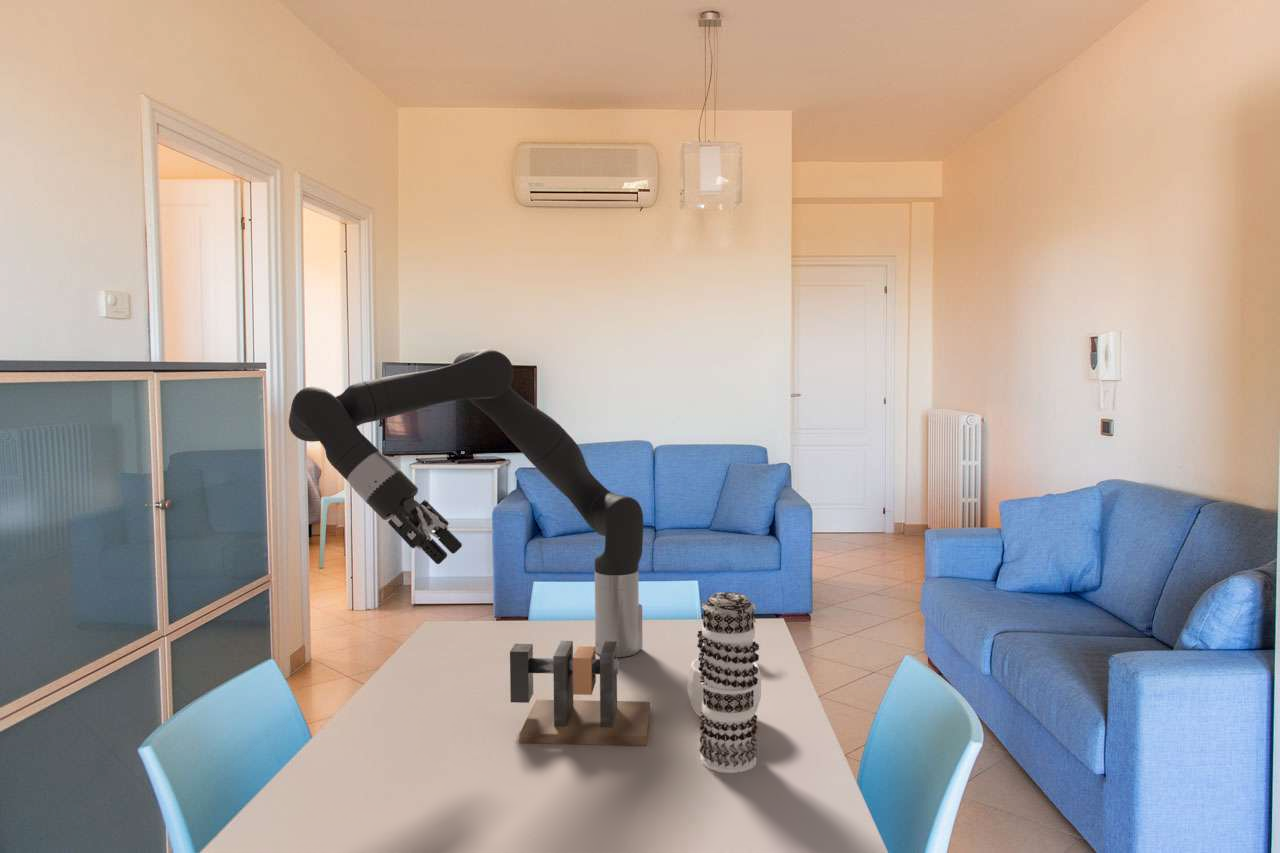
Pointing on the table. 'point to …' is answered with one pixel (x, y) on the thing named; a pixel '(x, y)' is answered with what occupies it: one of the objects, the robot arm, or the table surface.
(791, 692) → the table surface
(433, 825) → the table surface
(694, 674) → the cup
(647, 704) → the rig
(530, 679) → the shaft
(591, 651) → the spacer
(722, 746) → the decorative candle
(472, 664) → the table surface
